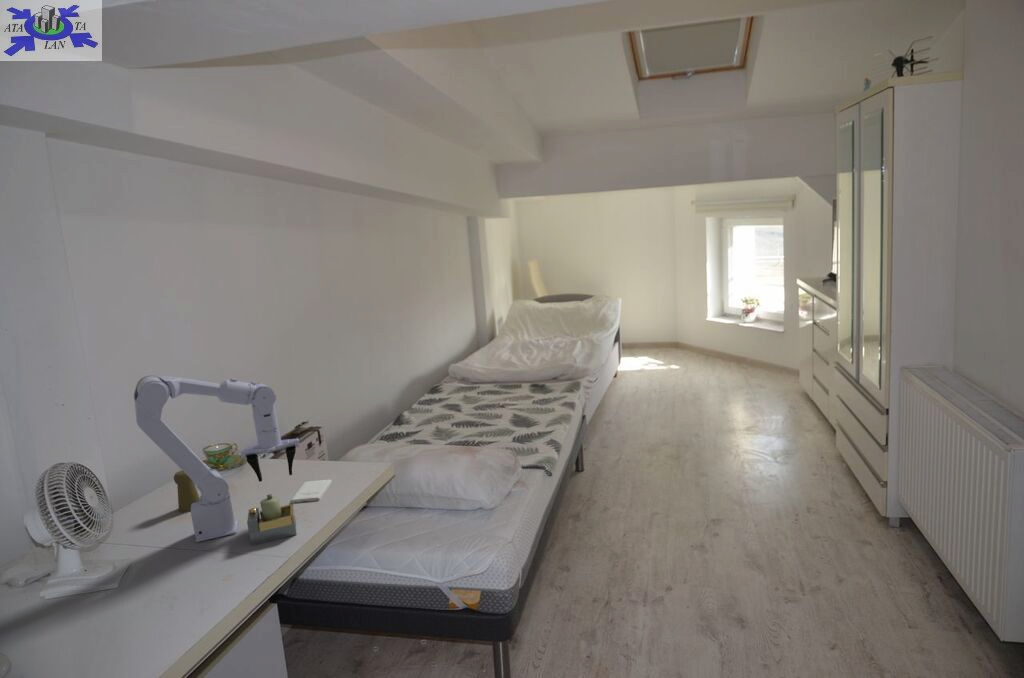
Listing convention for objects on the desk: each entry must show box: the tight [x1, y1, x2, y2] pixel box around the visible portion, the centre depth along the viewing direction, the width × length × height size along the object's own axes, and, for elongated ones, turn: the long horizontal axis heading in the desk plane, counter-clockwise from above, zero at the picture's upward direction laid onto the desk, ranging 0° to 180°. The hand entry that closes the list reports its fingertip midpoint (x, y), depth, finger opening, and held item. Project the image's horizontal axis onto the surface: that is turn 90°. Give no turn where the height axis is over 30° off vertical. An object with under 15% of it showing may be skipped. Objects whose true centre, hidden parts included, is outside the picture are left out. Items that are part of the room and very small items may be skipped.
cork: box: [173, 469, 200, 513], centre depth 185 cm, size 6×6×11 cm
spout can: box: [259, 493, 282, 521], centre depth 163 cm, size 4×4×6 cm
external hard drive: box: [290, 479, 333, 504], centre depth 188 cm, size 2×8×12 cm
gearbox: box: [246, 503, 297, 546], centre depth 163 cm, size 10×8×7 cm
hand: (275, 477), depth 175 cm, fingers open, 7 cm apart
